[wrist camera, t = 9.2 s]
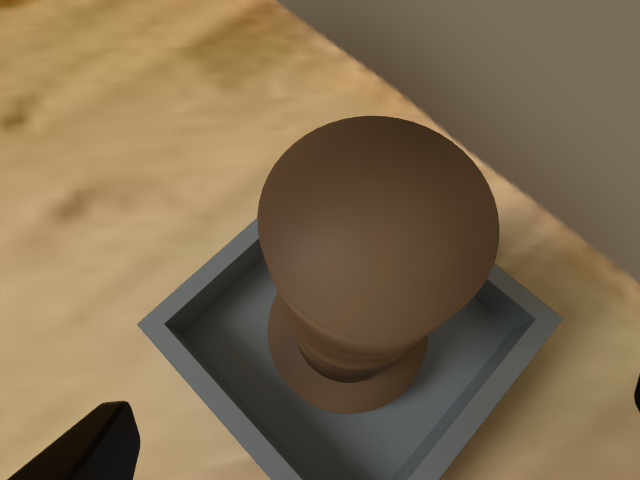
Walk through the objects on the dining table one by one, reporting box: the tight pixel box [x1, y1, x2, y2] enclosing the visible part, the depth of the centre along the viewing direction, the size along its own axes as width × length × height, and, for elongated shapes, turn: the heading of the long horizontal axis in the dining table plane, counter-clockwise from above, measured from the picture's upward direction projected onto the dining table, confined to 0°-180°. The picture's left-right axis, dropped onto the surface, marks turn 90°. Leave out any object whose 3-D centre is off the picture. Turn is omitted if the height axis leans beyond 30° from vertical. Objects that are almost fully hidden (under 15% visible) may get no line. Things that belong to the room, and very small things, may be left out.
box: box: [137, 217, 563, 480], centre depth 20 cm, size 13×13×3 cm
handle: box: [257, 116, 499, 414], centre depth 14 cm, size 7×7×13 cm
